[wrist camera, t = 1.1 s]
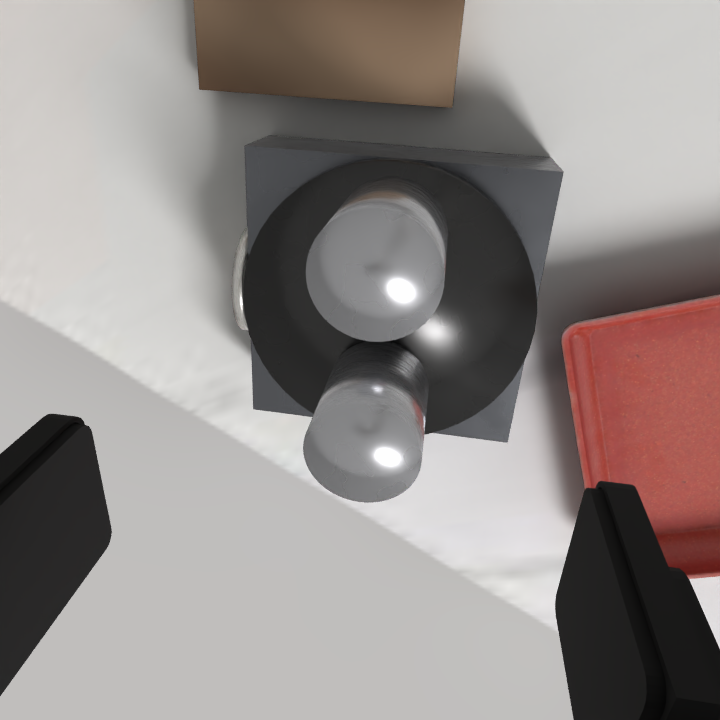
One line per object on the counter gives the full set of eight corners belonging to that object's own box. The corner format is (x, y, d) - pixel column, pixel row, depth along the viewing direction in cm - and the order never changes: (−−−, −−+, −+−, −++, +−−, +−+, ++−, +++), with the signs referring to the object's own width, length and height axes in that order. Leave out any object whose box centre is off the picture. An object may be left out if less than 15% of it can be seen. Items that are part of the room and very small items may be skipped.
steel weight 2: (332, 335, 29) (303, 396, 24) (434, 346, 29) (427, 412, 23) (329, 420, 32) (302, 493, 26) (423, 432, 31) (415, 510, 26)
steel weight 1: (338, 171, 26) (306, 201, 20) (454, 181, 25) (453, 215, 20) (334, 281, 28) (304, 333, 23) (440, 292, 27) (435, 348, 22)
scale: (257, 132, 31) (218, 147, 26) (549, 155, 29) (567, 175, 24) (263, 368, 37) (232, 416, 32) (502, 397, 36) (508, 453, 31)
